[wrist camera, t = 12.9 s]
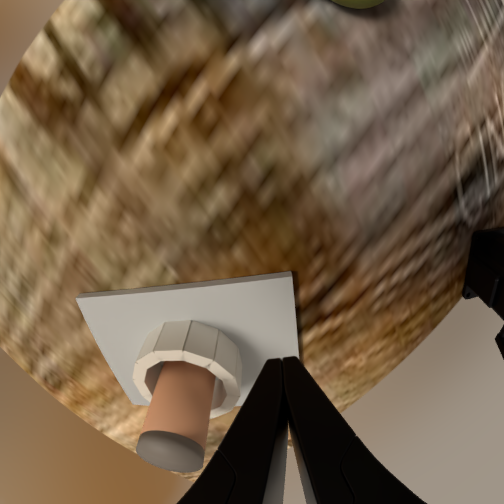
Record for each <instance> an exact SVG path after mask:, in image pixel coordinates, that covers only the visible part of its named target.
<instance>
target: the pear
mask: <svg viewBox="0 0 504 504" xmlns="http://www.w3.org/2000/svg"><path fill="white" fill-rule="evenodd" d="M331 1H333V2H335V3H337V4H340V5H342V6H346V7H350V8H356V9H364V8H370V7H373V6H376V5H378V4H380V3H382V2H383V1H385V0H331Z"/></svg>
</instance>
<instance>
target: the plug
mask: <svg viewBox="0 0 504 504" xmlns="http://www.w3.org/2000/svg"><path fill="white" fill-rule="evenodd" d="M215 379H216V376H215V375H214V374H213V373H212V372H211V371H209V370H208V369H207V368H204V367H201V366H198V365H195V364H192V363H189V362H186V361H164V364H163V367H162V370H161V372H160V375H159V378H158V381H157V384H156V387H155V390H154V393H153V396H152V399H151V402H150V405H149V409H148V412H147V415H146V418H145V421H144V424H143V427H142V431H141V434H140V437H139V440H138V444H137V447H136V452H137V454H138V455H139V456H140V457H141V458H142V459H143V460H145V461H146V462H148V463H150V464H152V465H154V466H157V467H159V468H162V469H165V470H169V471H174V472H195V471H198V470H200V469H201V468H202V467H203V462H204V454H205V447H206V440H207V433H208V426H209V419H210V412H211V405H212V399H213V392H214V385H215Z"/></svg>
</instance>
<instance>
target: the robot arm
mask: <svg viewBox="0 0 504 504" xmlns="http://www.w3.org/2000/svg"><path fill="white" fill-rule="evenodd" d="M477 237H478V238H477ZM462 296H463V297H464V298H465V299H470V298H474V297H479V298H480V299H481V300H482V301H483V302H484V303H485V304H486V305H487V306H488V307H489V308H492V309H493V310H494V311H495V312H496V313H497V314H498V315H499V316H500V317H501V318H502V319H503V320H504V227H502V228H495V229H488V230H481V231H476V232H475V233H474V234H473V236H472V243H471V250H470V256H469V262H468V268H467V273H466V278H465V283H464V288H463V292H462ZM495 341H496V343H497V345H498V348H499V350H500V352H501V354H502V357H503V359H504V325H503V327H502V329H501V330H500V332H499V333H498V334H497V336H496V338H495ZM288 423H289V429H290V435H291V439H292V443H293V447H294V452H295V456H296V460H297V464H298V469H299V473H300V478H301V482H302V486H303V491H304V495H305V499H306V503H307V504H427V503H426V502H424V501H423V500H421V499H420V498H419V497H418V496H416V495H415V494H414V493H413V492H412V491H411V490H409V489H408V488H407V487H406V486H405V485H404V484H403V483H401V482H400V481H399V480H398V479H397V478H396V477H395V476H394V475H393V474H392V473H390V472H389V471H388V470H387V469H386V468H385V467H384V466H383V465H382V464H381V463H380V462H379V461H378V460H377V459H376V458H375V457H374V455H373V454H372V453H371V452H370V451H369V450H368V448H366V446H365V445H364V444H363V442H362V441H361V440H360V439H359V437H358V436H356V434H355V433H354V431H353V430H352V428H351V427H350V426H349V425H348V423H347V422H346V421H345V419H344V418H343V417H342V416H341V414H340V413H339V412H338V410H337V409H336V408H335V406H334V405H333V404H332V402H331V401H330V400H329V399H328V397H327V396H326V395H325V393H324V392H323V391H322V389H321V388H320V387H319V385H318V384H317V383H316V381H315V380H314V379H313V377H312V376H311V375H310V373H309V372H308V371H307V369H306V368H305V367H304V365H303V364H302V363H301V361H300V360H299V359H298V357H296V356H289V357H283V358H282V359H281V358H272V359H267V360H266V362H265V364H264V366H263V368H262V369H261V371H260V373H259V375H258V377H257V379H256V381H255V383H254V384H253V386H252V388H251V390H250V392H249V394H248V396H247V397H246V399H245V401H244V403H243V405H242V406H241V408H240V410H239V412H238V414H237V415H236V417H235V419H234V421H233V422H232V424H231V426H230V428H229V429H228V431H227V433H226V435H225V436H224V438H223V440H222V441H221V443H220V445H219V447H218V450H216V451H215V453H214V455H213V456H212V458H211V460H210V461H209V463H208V464H207V466H206V467H205V469H204V470H203V472H202V473H201V475H200V476H199V477H198V479H197V480H196V481H195V483H194V484H193V485H192V486H191V488H190V489H189V490H188V491H187V492H186V493H185V495H184V496H183V497H182V498H181V499H180V500H179V501H178V503H177V504H283V495H284V483H285V471H286V458H287V444H288Z"/></svg>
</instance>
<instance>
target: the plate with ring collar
mask: <svg viewBox="0 0 504 504" xmlns="http://www.w3.org/2000/svg"><path fill="white" fill-rule="evenodd" d="M76 301H77V303H78V305H79V307H80V309H81V312H82V314H83V316H84V318H85V320H86V322H87V324H88V326H89V328H90V330H91V332H92V334H93V336H94V338H95V340H96V342H97V344H98V346H99V348H100V350H101V352H102V354H103V355H104V357H105V359H106V361H107V363H108V364H109V366H110V368H111V370H112V371H113V373H114V375H115V376H116V378H117V380H118V381H119V383H120V385H121V386H122V388H123V390H124V391H125V393H126V394H127V396H128V398H129V399H130V401H131V402H132V404H134V405H150V402H151V399H152V396H153V393H154V390H155V387H156V384H157V381H158V378H159V375H160V372H161V370H162V367H163V364H164V361H186V362H189V363H192V364H195V365H198V366H201V367H204V368H207V369H208V370H209V371H211V372H212V373H213V374H214V375H215V376H216V379H215V385H214V392H213V399H212V405H211V412H210V419H211V418H215V417H218V416H220V415H223V414H225V413H228V412H230V411H232V409H233V408H234V406H242V405H243V403H244V401H245V399H246V397H247V396H248V394H249V392H250V390H251V388H252V386H253V384H254V383H255V381H256V379H257V377H258V375H259V373H260V371H261V369H262V368H263V366H264V364H265V362H266V360H267V359H272V358H281V359H282V358H283V357H289V356H296V357H298V359H299V351H298V338H297V325H296V313H295V302H294V291H293V280H292V273H291V271H288V272H280V273H272V274H264V275H255V276H247V277H239V278H230V279H221V280H213V281H204V282H194V283H185V284H176V285H166V286H156V287H146V288H136V289H125V290H115V291H104V292H92V293H80V294H79V295H78V296H77V297H76Z"/></svg>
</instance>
